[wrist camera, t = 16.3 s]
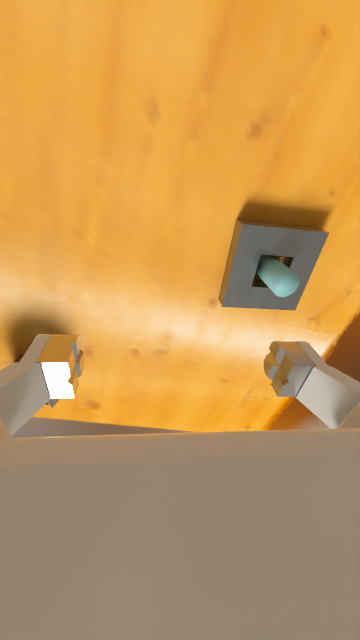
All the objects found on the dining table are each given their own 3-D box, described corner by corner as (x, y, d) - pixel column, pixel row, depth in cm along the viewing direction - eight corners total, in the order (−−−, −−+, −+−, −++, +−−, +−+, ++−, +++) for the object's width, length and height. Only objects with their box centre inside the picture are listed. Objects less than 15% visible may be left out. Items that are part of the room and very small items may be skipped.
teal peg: (257, 252, 41) (278, 271, 35) (279, 254, 42) (303, 273, 35) (251, 274, 43) (269, 296, 37) (272, 276, 44) (293, 297, 37)
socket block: (236, 219, 38) (242, 224, 35) (317, 227, 40) (329, 232, 37) (218, 298, 45) (222, 306, 43) (287, 302, 48) (295, 310, 45)
